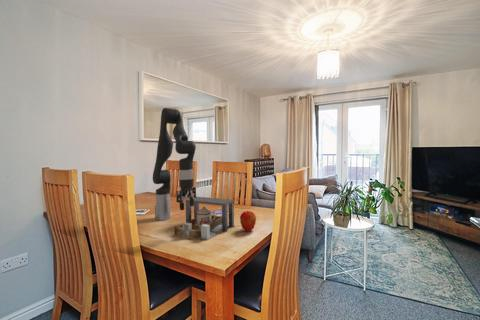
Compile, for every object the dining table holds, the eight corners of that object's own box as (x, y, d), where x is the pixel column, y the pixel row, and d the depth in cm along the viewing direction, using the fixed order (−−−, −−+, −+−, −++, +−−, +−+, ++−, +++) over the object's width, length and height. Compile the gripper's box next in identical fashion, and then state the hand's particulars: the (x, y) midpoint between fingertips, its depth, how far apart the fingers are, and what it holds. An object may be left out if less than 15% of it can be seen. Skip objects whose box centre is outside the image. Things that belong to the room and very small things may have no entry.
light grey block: (200, 238, 123) (200, 225, 122) (208, 233, 130) (208, 221, 130) (207, 240, 121) (207, 226, 121) (215, 234, 128) (215, 222, 128)
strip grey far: (210, 232, 132) (210, 230, 132) (219, 226, 142) (219, 224, 142) (217, 233, 131) (217, 231, 130) (226, 227, 141) (226, 225, 141)
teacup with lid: (199, 229, 137) (198, 209, 136) (194, 225, 145) (194, 206, 145) (218, 226, 142) (218, 207, 142) (212, 222, 151) (212, 204, 150)
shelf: (186, 226, 143) (185, 199, 142) (196, 220, 153) (195, 196, 153) (225, 232, 132) (225, 203, 132) (233, 226, 142) (233, 199, 142)
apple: (245, 234, 128) (245, 213, 128) (237, 229, 136) (236, 209, 135) (259, 231, 133) (259, 210, 133) (250, 226, 141) (250, 207, 140)
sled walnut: (173, 235, 128) (173, 222, 127) (203, 220, 155) (203, 209, 155) (198, 239, 121) (198, 226, 121) (224, 222, 149) (224, 212, 149)
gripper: (188, 176, 133) (189, 204, 133) (171, 179, 119) (172, 210, 120) (199, 176, 130) (200, 205, 130) (183, 179, 116) (184, 212, 117)
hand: (187, 208), depth 125 cm, fingers open, 8 cm apart
